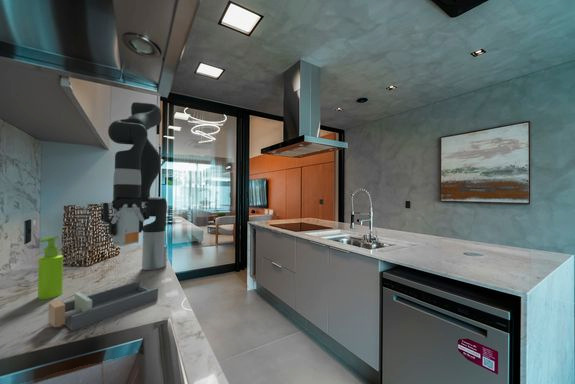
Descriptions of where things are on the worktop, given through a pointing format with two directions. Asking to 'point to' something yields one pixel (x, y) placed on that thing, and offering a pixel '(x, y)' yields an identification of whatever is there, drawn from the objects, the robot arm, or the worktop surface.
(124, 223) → the skincare box
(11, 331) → the worktop surface
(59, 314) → the pusher
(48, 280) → the soap dispenser
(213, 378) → the worktop surface
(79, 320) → the pusher lane
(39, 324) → the worktop surface
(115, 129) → the robot arm
